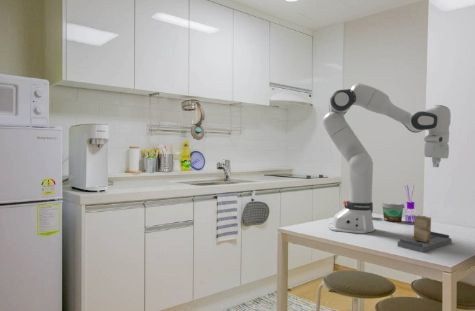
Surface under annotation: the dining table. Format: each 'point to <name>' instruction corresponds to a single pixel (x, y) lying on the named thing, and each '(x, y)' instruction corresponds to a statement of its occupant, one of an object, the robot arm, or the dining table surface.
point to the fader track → (421, 246)
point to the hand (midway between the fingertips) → (435, 167)
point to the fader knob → (422, 228)
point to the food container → (392, 212)
